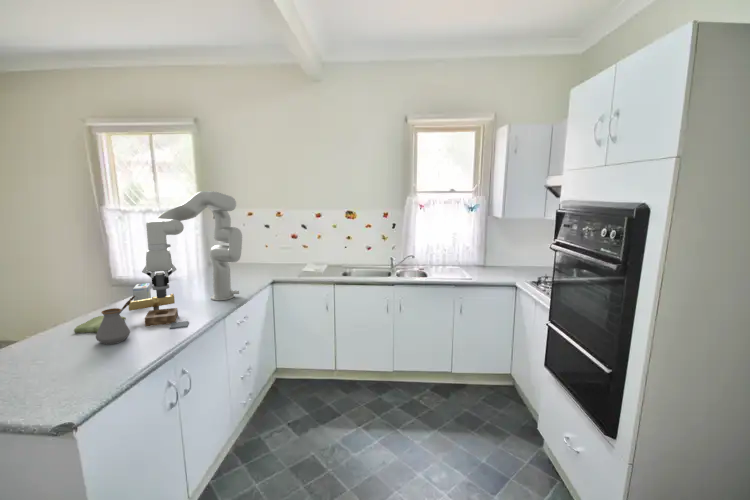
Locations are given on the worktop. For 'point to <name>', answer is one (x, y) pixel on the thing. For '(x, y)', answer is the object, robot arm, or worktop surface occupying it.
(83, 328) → the washcloth
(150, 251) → the robot arm
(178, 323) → the pad
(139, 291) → the light bulb box
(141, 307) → the clip
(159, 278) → the plug
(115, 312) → the coffee pot
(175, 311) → the socket block
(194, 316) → the worktop surface
